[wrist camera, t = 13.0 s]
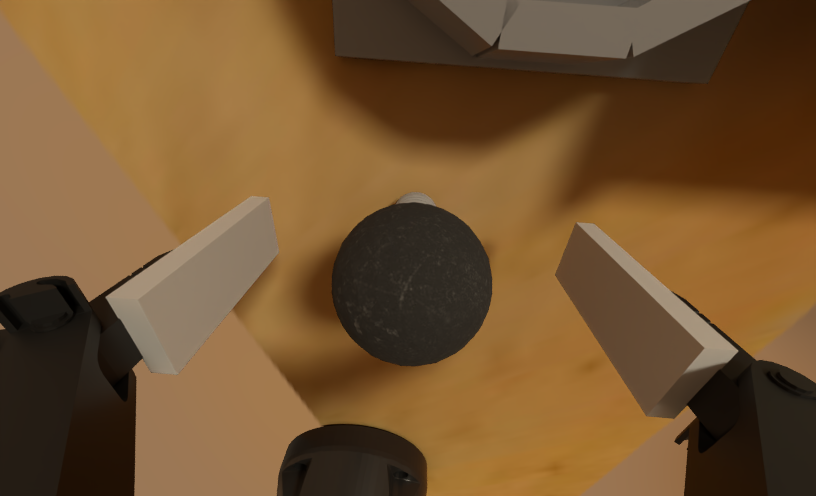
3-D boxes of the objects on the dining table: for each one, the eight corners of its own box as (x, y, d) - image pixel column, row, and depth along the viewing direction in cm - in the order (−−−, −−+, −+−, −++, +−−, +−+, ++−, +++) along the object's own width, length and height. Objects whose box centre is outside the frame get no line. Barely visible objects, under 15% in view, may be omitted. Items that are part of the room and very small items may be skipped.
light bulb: (374, 252, 18) (331, 405, 10) (359, 161, 16) (280, 263, 7) (464, 247, 18) (504, 404, 9) (465, 153, 15) (524, 251, 6)
